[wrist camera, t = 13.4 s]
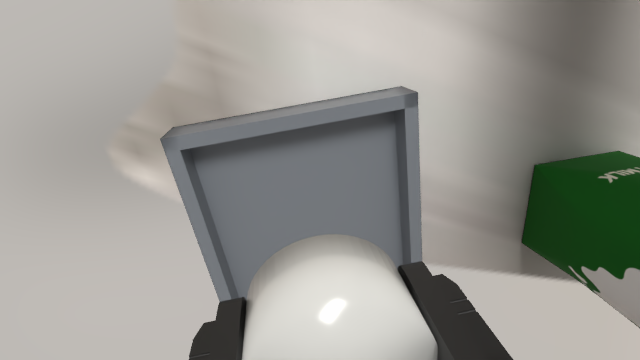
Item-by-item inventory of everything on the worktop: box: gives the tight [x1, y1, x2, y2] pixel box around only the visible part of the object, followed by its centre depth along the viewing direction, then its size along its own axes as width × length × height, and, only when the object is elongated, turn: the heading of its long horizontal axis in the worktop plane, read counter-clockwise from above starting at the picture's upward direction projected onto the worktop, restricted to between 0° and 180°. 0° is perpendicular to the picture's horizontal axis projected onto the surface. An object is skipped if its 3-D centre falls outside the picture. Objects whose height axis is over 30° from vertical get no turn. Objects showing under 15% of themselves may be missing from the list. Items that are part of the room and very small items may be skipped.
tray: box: [160, 86, 422, 302], centre depth 23 cm, size 16×14×2 cm
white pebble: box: [242, 234, 438, 360], centre depth 9 cm, size 5×5×3 cm
